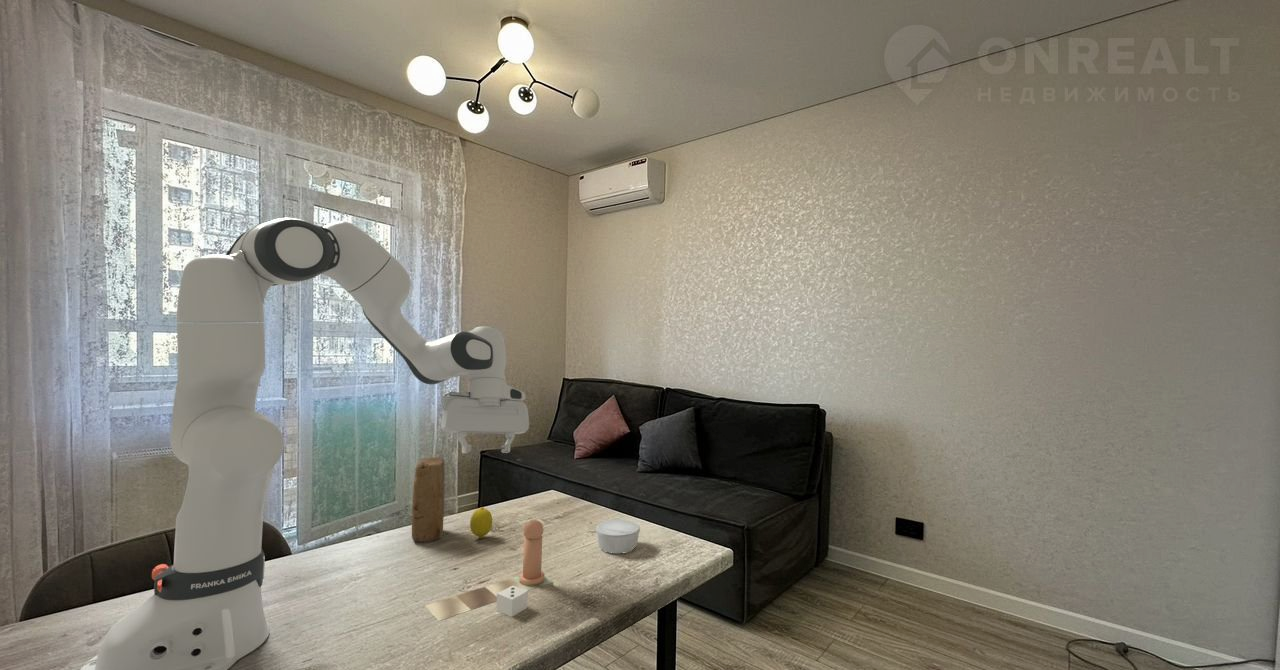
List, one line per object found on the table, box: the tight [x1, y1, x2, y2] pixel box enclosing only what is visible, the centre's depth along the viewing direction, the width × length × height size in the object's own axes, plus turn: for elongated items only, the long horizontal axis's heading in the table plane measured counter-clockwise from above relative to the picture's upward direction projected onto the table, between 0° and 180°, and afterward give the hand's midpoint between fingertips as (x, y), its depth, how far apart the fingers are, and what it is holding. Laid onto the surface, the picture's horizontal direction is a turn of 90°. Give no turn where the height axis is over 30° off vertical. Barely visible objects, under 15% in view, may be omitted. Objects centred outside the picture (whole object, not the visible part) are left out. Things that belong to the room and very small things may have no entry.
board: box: [424, 575, 554, 622], centre depth 101 cm, size 24×7×1 cm, turn 132°
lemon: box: [469, 506, 493, 539], centre depth 132 cm, size 6×6×8 cm
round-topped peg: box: [518, 519, 545, 586], centre depth 107 cm, size 5×5×13 cm
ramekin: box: [595, 519, 641, 554], centre depth 128 cm, size 11×11×5 cm
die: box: [495, 586, 529, 617], centre depth 95 cm, size 4×4×4 cm
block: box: [411, 457, 446, 543], centre depth 133 cm, size 11×8×20 cm
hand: (486, 452), depth 116 cm, fingers open, 8 cm apart
